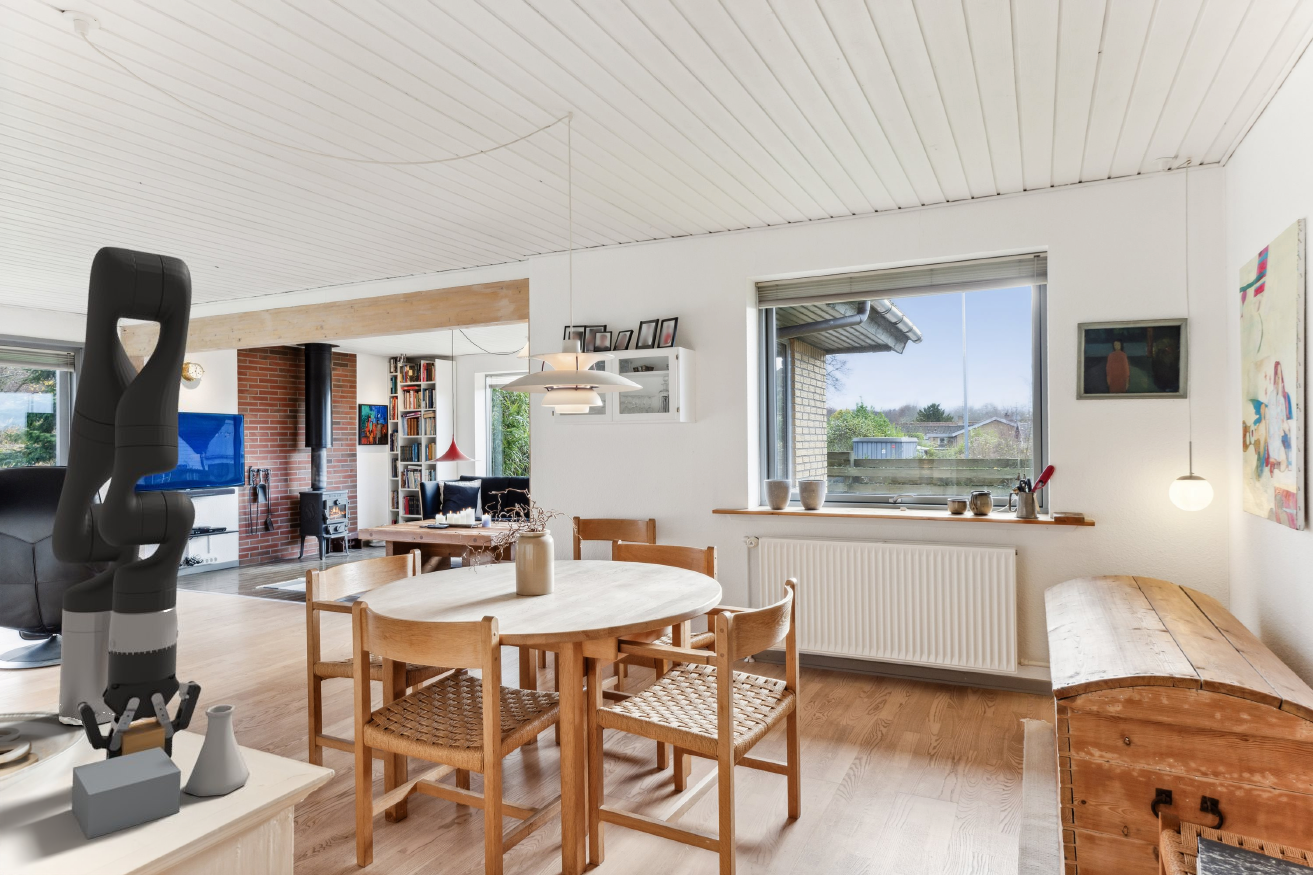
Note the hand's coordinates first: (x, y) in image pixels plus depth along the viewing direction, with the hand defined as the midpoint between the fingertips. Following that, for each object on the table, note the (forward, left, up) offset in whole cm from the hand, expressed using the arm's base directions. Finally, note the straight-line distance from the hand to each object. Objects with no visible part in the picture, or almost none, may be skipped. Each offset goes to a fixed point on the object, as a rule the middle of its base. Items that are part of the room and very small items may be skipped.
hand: (139, 768), depth 100 cm
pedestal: (+10, -3, -1) cm, 11 cm away
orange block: (0, 0, -1) cm, 1 cm away
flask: (+10, +7, -1) cm, 12 cm away
